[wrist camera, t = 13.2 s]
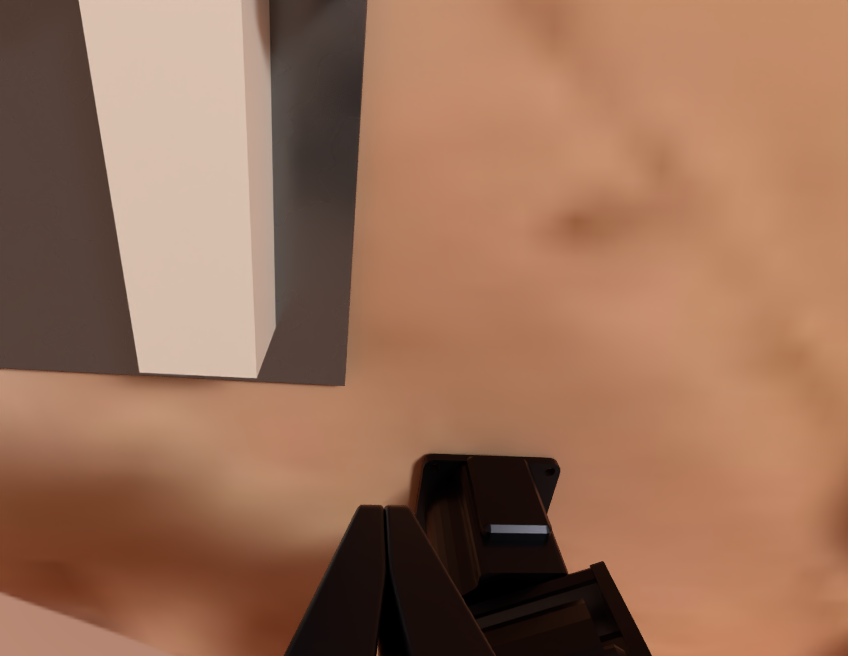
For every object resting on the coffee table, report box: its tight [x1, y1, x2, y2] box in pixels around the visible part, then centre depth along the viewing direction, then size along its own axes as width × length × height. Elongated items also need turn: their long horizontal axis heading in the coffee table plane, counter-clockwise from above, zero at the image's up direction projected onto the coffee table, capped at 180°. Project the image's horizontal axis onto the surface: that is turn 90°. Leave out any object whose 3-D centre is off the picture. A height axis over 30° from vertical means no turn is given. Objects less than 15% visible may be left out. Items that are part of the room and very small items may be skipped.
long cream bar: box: [79, 0, 276, 378], centre depth 14 cm, size 17×4×4 cm, turn 173°
